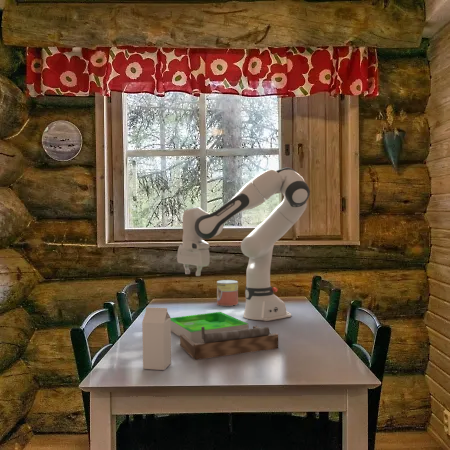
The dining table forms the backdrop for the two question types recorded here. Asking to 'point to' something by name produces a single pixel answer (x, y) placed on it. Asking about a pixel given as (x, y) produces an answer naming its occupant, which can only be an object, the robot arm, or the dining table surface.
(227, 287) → the canned food
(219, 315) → the tray
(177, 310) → the dining table surface
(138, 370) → the dining table surface
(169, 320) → the milk carton
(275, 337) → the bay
